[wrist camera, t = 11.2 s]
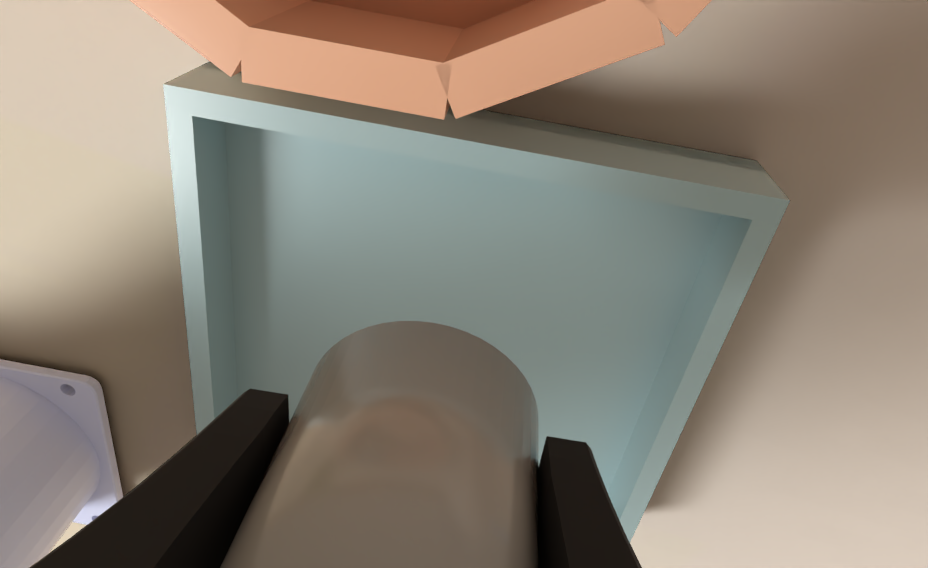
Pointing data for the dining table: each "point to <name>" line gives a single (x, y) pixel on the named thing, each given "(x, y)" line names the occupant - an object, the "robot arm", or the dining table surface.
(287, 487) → the slate pebble
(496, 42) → the terracotta bowl
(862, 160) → the dining table surface
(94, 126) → the dining table surface
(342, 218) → the parts tray
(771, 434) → the dining table surface
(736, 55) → the dining table surface
